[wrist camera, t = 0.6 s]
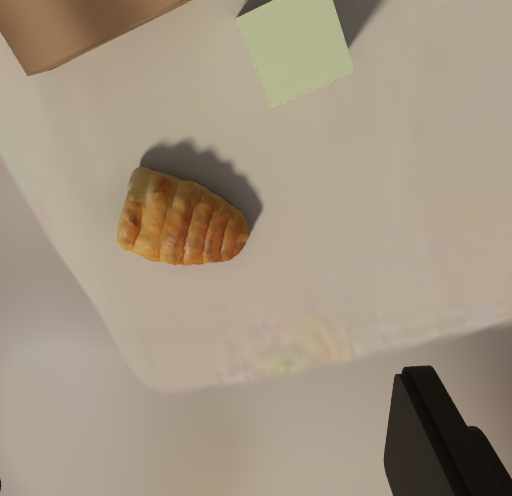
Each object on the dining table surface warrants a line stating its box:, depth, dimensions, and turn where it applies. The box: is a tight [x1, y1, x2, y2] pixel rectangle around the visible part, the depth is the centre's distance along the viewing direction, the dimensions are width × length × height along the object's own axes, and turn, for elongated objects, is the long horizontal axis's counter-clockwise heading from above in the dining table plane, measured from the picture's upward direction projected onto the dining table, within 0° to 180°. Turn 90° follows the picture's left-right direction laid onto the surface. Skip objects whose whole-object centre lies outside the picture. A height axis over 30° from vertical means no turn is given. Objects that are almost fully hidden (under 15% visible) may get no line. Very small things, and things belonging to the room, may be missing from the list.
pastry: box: [117, 167, 250, 265], centre depth 32 cm, size 9×7×4 cm
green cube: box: [235, 0, 354, 108], centre depth 27 cm, size 5×5×5 cm
